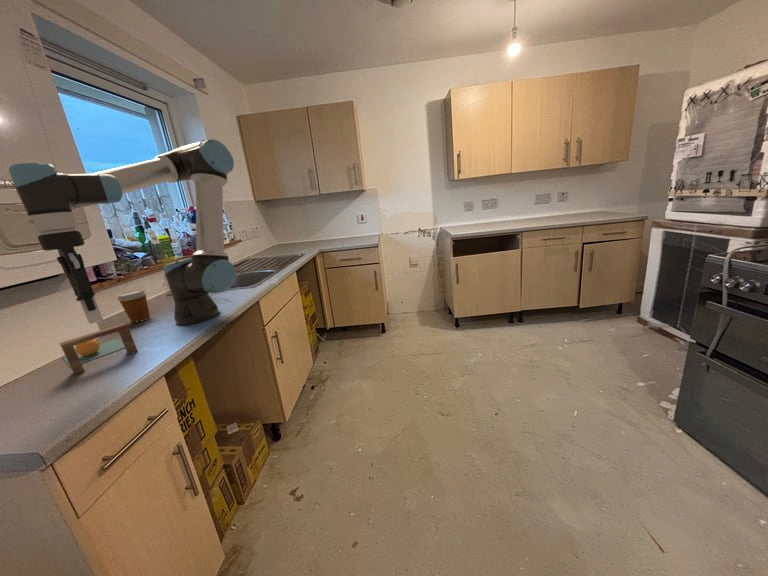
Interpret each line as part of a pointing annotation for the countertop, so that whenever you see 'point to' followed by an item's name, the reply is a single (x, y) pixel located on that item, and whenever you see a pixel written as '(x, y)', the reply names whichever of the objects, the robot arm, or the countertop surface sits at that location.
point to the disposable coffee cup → (135, 305)
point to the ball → (87, 348)
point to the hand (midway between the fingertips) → (96, 321)
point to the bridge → (69, 344)
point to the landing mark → (102, 351)
